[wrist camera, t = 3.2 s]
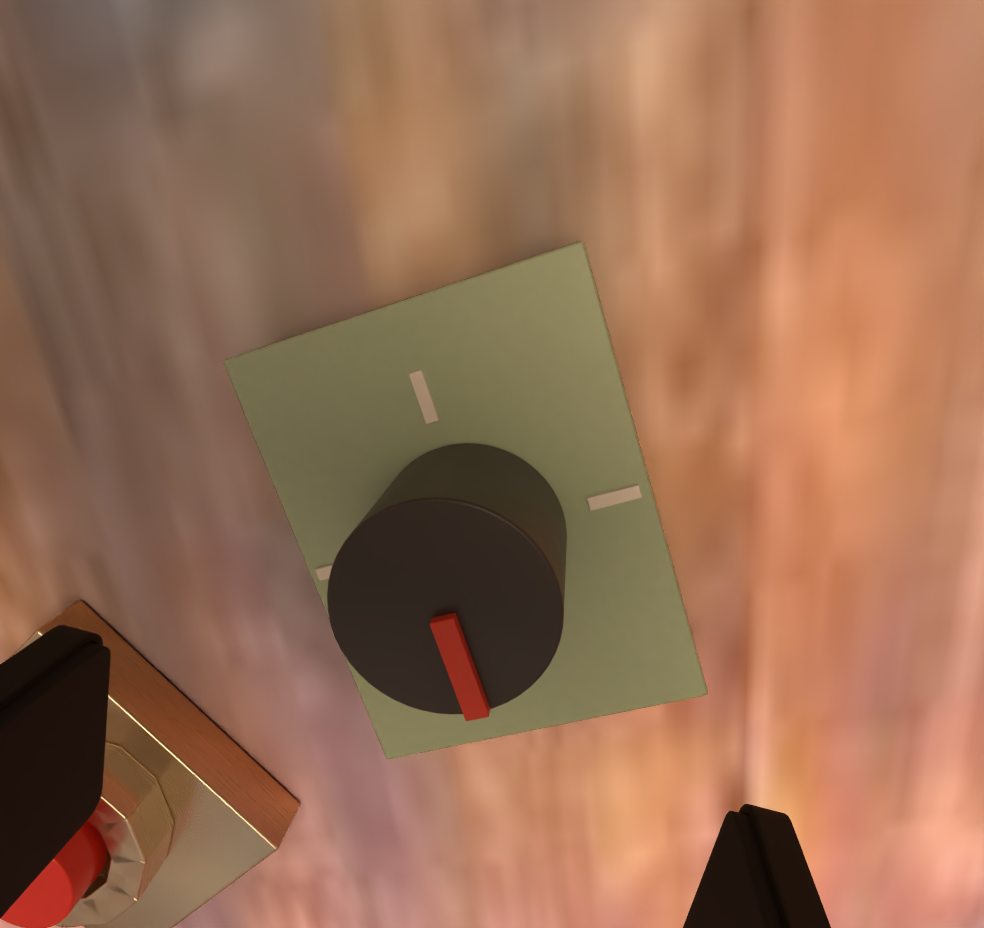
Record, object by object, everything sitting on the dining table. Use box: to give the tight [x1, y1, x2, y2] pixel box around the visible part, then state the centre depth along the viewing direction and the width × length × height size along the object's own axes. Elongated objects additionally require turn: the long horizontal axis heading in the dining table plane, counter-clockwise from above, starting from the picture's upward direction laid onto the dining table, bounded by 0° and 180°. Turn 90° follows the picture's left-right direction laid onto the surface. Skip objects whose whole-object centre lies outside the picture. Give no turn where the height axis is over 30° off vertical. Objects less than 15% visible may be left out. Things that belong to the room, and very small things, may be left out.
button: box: [0, 821, 107, 928], centre depth 23 cm, size 4×4×2 cm
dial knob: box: [327, 443, 567, 721], centre depth 17 cm, size 5×5×5 cm
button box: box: [11, 601, 300, 928], centre depth 26 cm, size 11×9×4 cm
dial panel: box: [224, 241, 708, 759], centre depth 21 cm, size 13×10×3 cm
